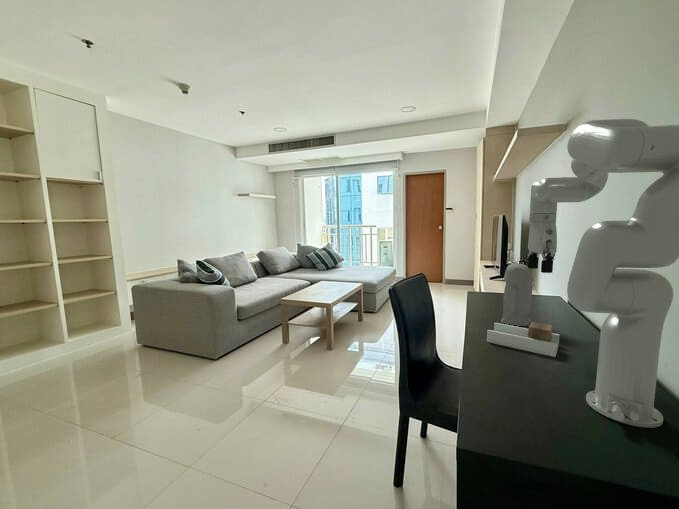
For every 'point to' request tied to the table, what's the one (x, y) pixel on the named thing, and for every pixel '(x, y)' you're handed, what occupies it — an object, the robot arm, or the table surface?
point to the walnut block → (540, 331)
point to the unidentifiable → (517, 295)
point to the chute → (522, 339)
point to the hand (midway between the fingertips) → (539, 270)
